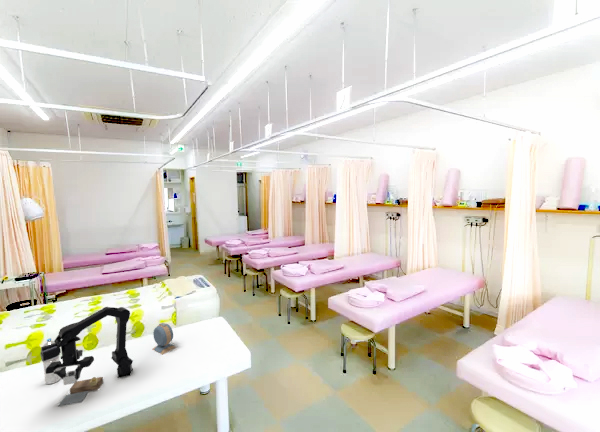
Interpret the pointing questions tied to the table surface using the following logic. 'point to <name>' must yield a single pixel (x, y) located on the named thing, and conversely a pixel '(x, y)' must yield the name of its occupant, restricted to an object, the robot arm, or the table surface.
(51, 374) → the water bottle
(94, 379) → the lever
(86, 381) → the plane body
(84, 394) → the mat
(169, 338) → the alarm clock
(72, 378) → the lever cap
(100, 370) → the table surface
